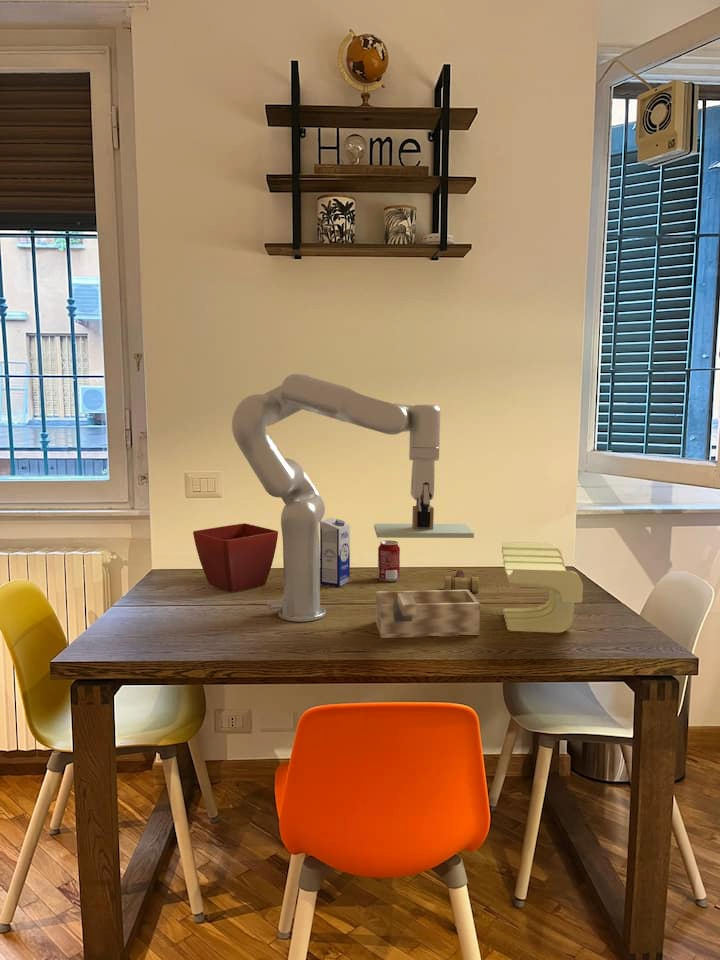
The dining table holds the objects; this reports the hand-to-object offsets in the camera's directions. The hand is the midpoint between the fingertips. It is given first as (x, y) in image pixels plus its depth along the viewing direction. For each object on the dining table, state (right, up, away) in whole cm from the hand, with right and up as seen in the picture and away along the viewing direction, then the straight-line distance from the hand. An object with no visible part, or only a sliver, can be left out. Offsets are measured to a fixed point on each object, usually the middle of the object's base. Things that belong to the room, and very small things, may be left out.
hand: (422, 525), depth 180 cm
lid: (0, -2, 0) cm, 2 cm away
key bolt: (-5, -18, -19) cm, 27 cm away
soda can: (-7, -20, +42) cm, 47 cm away
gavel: (+15, -21, +38) cm, 46 cm away
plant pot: (-54, -21, +35) cm, 67 cm away
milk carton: (-24, -21, +37) cm, 49 cm away
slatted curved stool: (+29, -25, +1) cm, 39 cm away
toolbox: (+1, -26, -5) cm, 26 cm away
